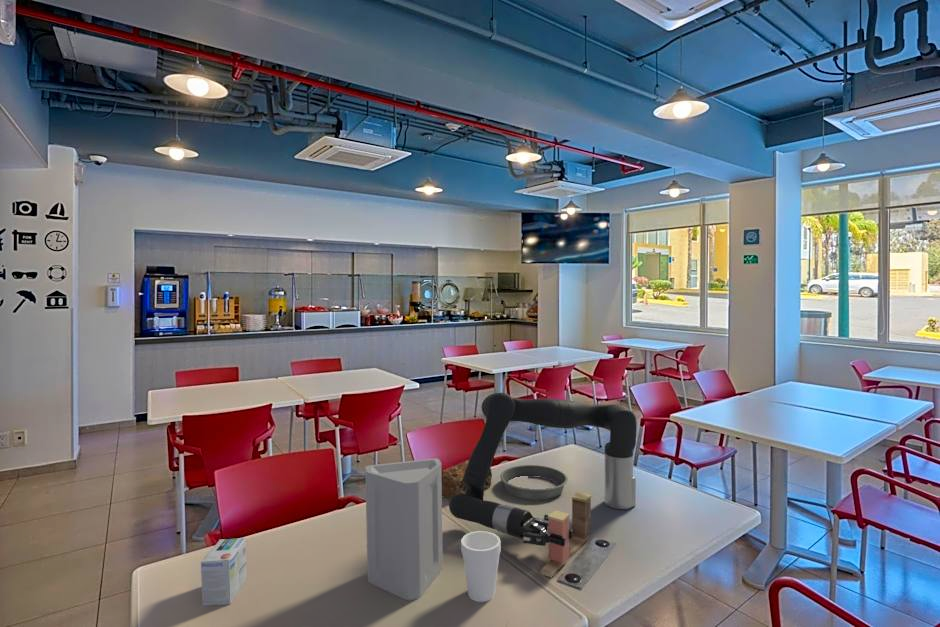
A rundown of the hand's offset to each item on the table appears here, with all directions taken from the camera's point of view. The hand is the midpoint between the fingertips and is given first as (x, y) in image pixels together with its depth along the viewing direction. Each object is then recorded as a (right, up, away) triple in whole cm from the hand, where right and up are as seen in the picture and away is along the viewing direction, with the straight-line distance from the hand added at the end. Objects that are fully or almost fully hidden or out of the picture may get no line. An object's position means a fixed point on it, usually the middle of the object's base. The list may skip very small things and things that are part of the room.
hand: (568, 538), depth 128 cm
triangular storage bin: (-41, -8, -6) cm, 42 cm away
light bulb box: (-85, -9, -9) cm, 86 cm away
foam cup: (-23, -8, -11) cm, 27 cm away
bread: (-28, -6, +49) cm, 57 cm away
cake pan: (-2, -6, +52) cm, 53 cm away
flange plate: (+6, -7, +2) cm, 10 cm away
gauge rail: (+1, -7, +6) cm, 10 cm away
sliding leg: (-2, -6, +2) cm, 7 cm away
